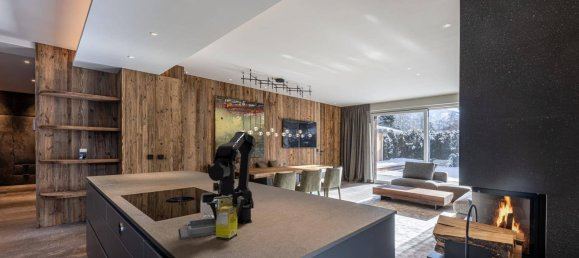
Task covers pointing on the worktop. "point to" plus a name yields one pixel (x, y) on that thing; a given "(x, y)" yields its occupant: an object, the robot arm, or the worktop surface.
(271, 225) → the worktop surface
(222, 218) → the supplement box
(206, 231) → the plate
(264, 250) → the worktop surface
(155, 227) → the worktop surface
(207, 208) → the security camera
